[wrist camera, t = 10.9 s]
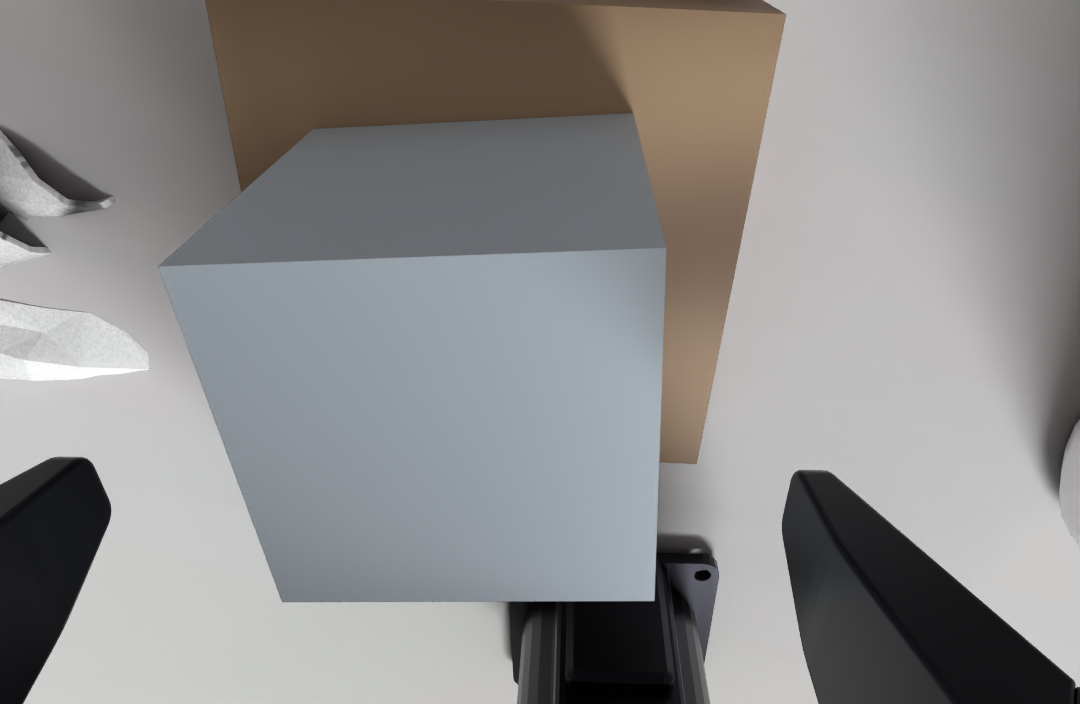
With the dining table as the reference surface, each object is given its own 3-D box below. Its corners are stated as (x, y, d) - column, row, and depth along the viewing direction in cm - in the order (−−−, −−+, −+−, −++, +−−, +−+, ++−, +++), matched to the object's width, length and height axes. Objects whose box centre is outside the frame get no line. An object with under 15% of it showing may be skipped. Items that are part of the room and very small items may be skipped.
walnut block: (682, 392, 20) (696, 464, 18) (324, 371, 20) (287, 439, 18) (750, -7, 15) (785, 14, 12) (265, -30, 15) (202, -14, 13)
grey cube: (631, 383, 17) (654, 600, 11) (371, 389, 17) (282, 602, 12) (633, 113, 13) (666, 247, 8) (313, 129, 14) (157, 266, 9)
